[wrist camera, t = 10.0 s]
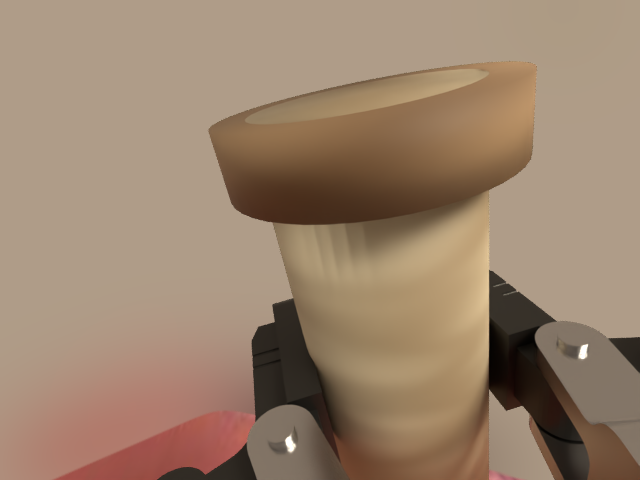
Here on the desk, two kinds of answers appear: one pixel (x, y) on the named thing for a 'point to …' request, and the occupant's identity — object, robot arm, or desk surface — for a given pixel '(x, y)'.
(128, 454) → the desk surface
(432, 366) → the wooden pin
